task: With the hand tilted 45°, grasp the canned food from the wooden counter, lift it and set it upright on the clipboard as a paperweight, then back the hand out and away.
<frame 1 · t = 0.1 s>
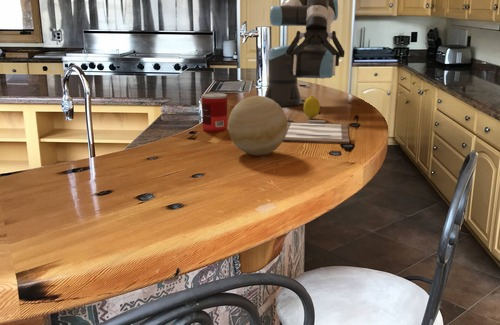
hand: (314, 73, 180), 15 cm above the bar counter, tool tilted 35°, fingers open, 13 cm apart
canned food: (215, 130, 164), on the bar counter
lemon: (311, 119, 181), on the bar counter
clipboard: (314, 133, 159), on the bar counter
decorative ball: (257, 155, 134), on the bar counter
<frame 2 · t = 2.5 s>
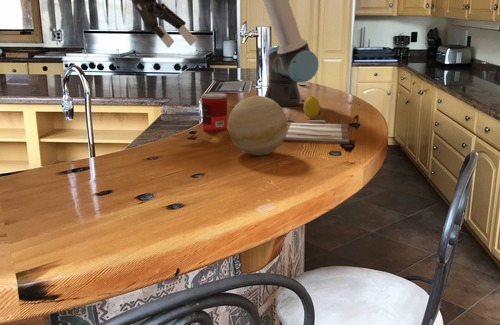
hand: (182, 43, 164), 26 cm above the bar counter, tool tilted 45°, fingers open, 13 cm apart
nothing on the bar counter moved.
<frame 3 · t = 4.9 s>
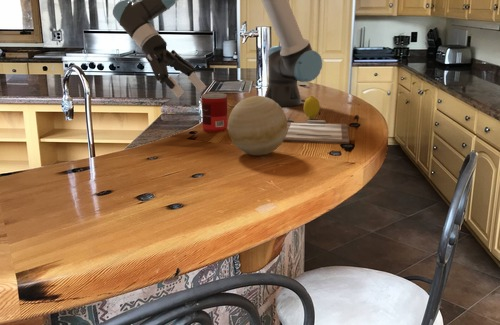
hand: (193, 92, 163), 11 cm above the bar counter, tool tilted 45°, fingers open, 13 cm apart
nothing on the bar counter moved.
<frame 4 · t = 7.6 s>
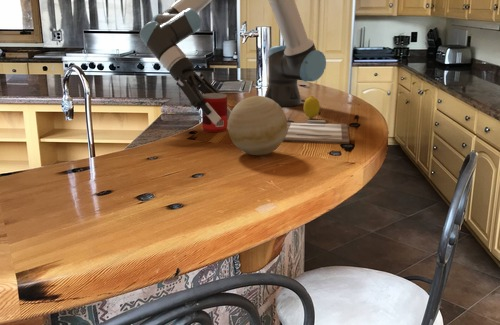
hand: (224, 119, 161), 4 cm above the bar counter, tool tilted 45°, fingers closed on canned food, 8 cm apart
canned food: (214, 130, 164), on the bar counter, touching gripper
everything else where it was.
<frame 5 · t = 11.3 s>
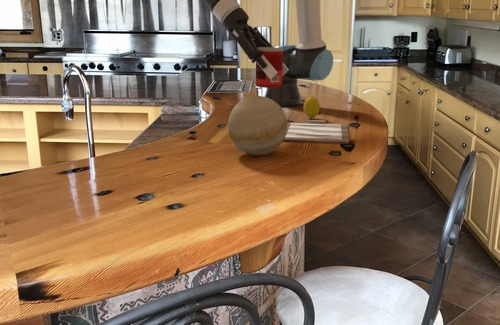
hand: (279, 74, 152), 18 cm above the bar counter, tool tilted 45°, fingers closed on canned food, 8 cm apart
canned food: (268, 86, 155), point 14 cm above the bar counter, touching gripper
everything else where it was.
when the fingers open (6 cm above the bar counter, at t = 15.4 s): canned food drops 1 cm, resting on clipboard.
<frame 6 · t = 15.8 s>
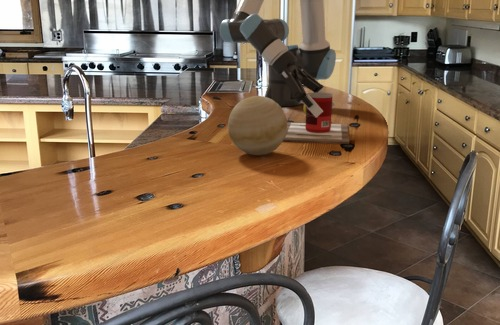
hand: (326, 110, 156), 7 cm above the bar counter, tool tilted 45°, fingers open, 13 cm apart
canned food: (317, 130, 159), point 1 cm above the bar counter, touching clipboard
everything else where it was.
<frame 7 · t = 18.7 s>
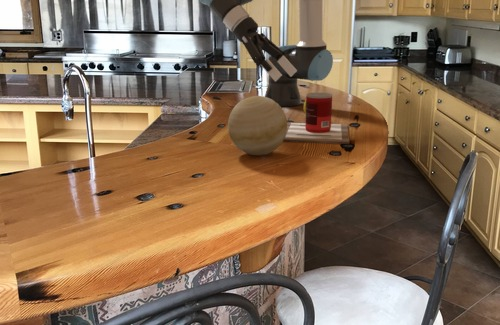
hand: (286, 76, 159), 17 cm above the bar counter, tool tilted 45°, fingers open, 13 cm apart
nothing on the bar counter moved.
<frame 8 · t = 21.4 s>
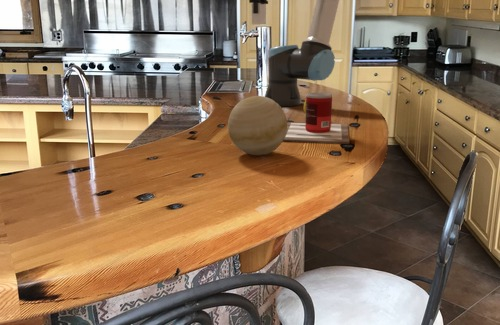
hand: (259, 24, 173), 32 cm above the bar counter, tool pointing down, fingers open, 13 cm apart
nothing on the bar counter moved.
at the end: canned food inside the target area on the clipboard (0.5 cm from its centre), point 0.6 cm above the clipboard's base; canned food tilted 0°; the gripper is holding nothing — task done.
